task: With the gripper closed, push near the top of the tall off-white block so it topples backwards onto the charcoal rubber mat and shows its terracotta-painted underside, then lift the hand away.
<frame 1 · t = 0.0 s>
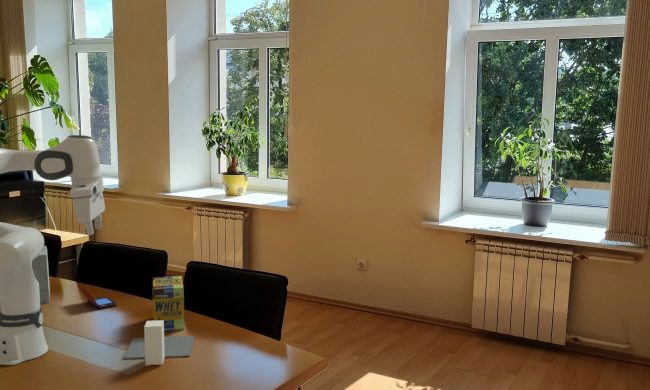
hand: (94, 231, 185), 39 cm above the table, tool pointing down, fingers open, 8 cm apart
hard drive box: (39, 298, 240), on the table
protein box: (168, 324, 215), on the table
tall block: (155, 362, 182), on the table
handheld game console: (97, 306, 233), on the table
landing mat: (160, 347, 193), on the table
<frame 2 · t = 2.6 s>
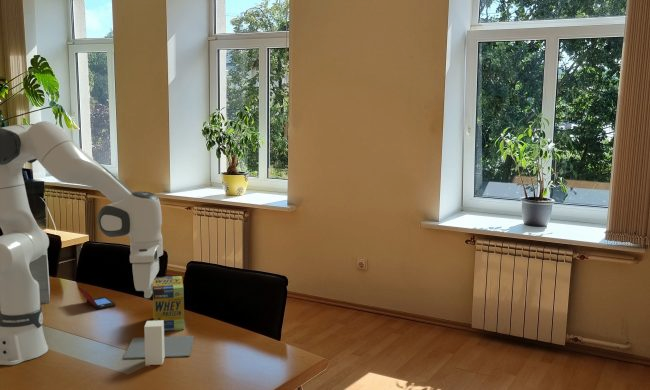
hand: (148, 296, 170), 24 cm above the table, tool pointing down, fingers closed
nothing on the table moved.
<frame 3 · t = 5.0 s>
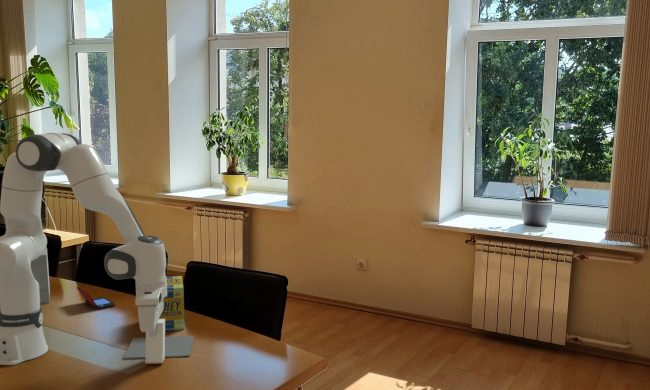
hand: (153, 335, 178), 10 cm above the table, tool pointing down, fingers closed
tall block: (155, 361, 182), on the table, tilted 7°, touching gripper
everything else where it was.
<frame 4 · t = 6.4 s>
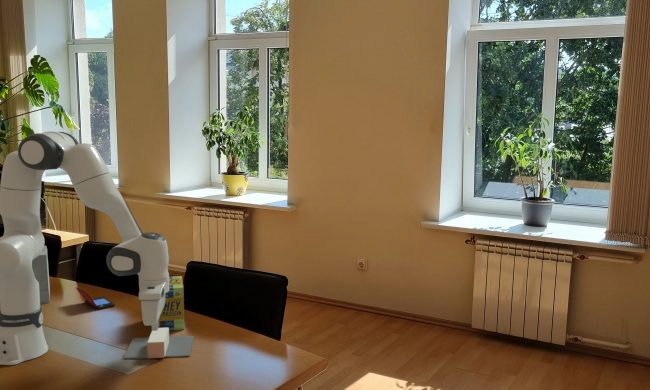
hand: (155, 329, 183), 10 cm above the table, tool pointing down, fingers closed
tall block: (155, 350, 184), point 3 cm above the table, tilted 90°, touching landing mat
everything else where it was.
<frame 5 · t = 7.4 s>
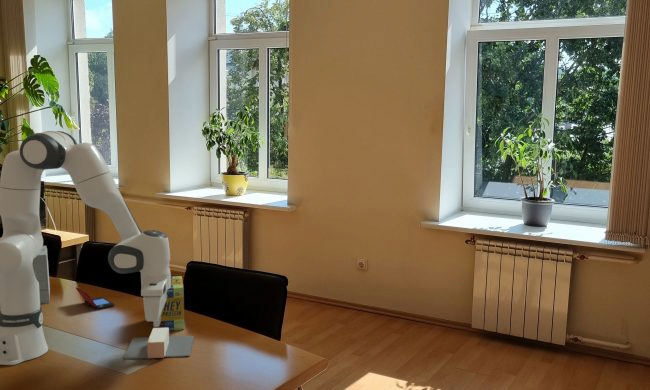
hand: (157, 325, 187), 10 cm above the table, tool pointing down, fingers closed
nothing on the table moved.
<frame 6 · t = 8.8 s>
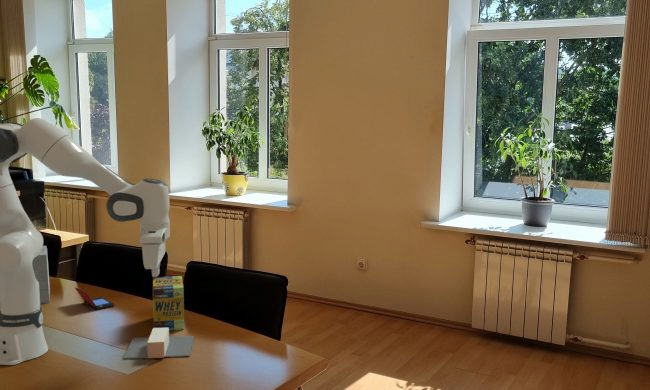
hand: (155, 275, 184), 26 cm above the table, tool pointing down, fingers closed
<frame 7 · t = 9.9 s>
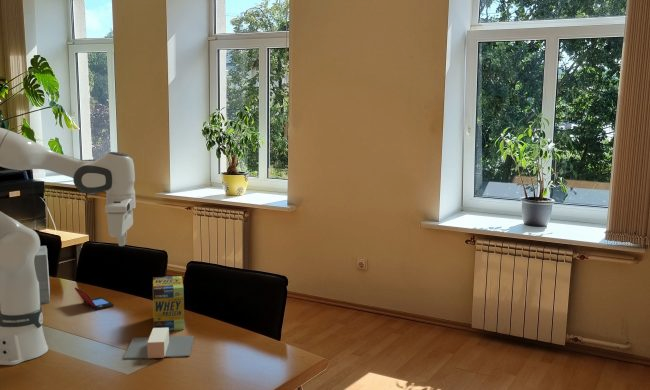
hand: (122, 245, 192), 33 cm above the table, tool pointing down, fingers closed
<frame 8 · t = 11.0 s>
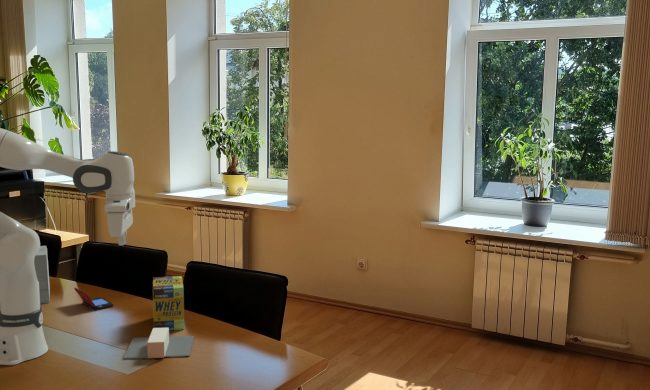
hand: (122, 244, 192), 33 cm above the table, tool pointing down, fingers closed
at the end: tall block tilted 90°; tall block inside the target area (0.5 cm from its centre), point 3.0 cm above the table; tall block touching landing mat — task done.
